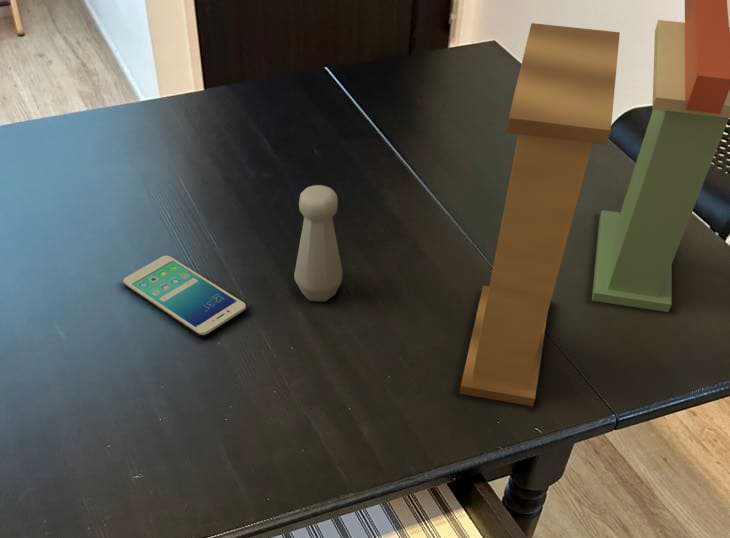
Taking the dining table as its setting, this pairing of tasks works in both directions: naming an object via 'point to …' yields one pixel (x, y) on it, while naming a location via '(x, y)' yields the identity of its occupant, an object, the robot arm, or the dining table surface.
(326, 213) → the salt shaker
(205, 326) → the smartphone
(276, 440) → the dining table surface
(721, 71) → the bar
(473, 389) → the tall wooden pedestal
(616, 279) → the green pedestal column
